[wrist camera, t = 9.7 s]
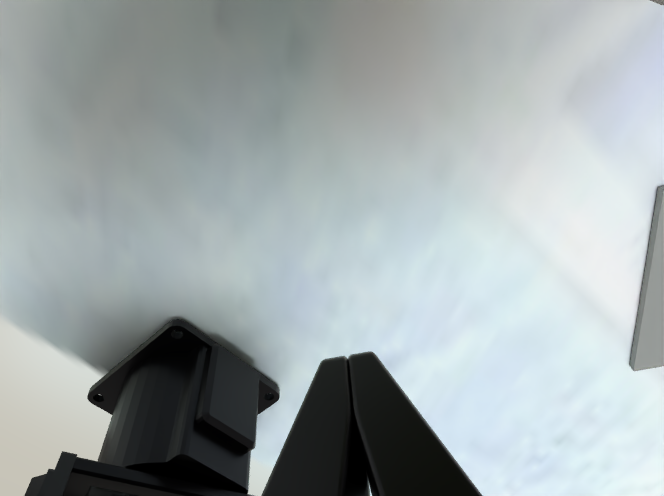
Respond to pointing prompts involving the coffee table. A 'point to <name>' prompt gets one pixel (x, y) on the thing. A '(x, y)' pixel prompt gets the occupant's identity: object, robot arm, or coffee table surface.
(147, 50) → the coffee table surface
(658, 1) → the grey wooden rounded board
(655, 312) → the mat
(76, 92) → the coffee table surface
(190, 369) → the robot arm
